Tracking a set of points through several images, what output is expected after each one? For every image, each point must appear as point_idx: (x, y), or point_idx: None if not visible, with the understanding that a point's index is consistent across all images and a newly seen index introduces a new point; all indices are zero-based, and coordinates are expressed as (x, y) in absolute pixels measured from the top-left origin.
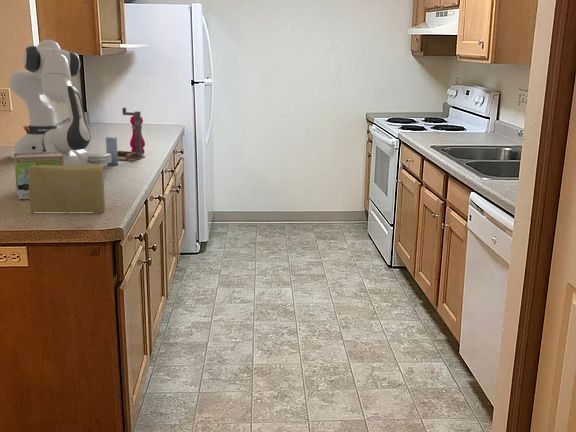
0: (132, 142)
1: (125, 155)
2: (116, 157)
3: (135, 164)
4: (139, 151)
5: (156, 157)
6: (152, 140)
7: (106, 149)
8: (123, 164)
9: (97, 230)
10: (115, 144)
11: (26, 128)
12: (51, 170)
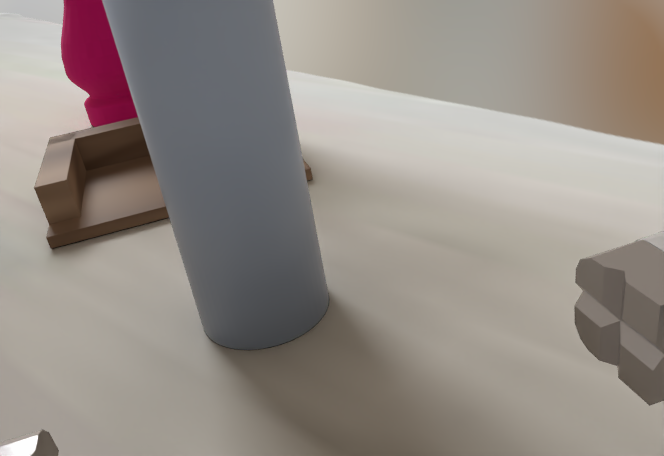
0: (96, 50)
1: (137, 154)
2: (312, 211)
3: (436, 200)
4: None
5: (326, 97)
6: (30, 57)
7: (170, 156)
8: (348, 249)
9: None
10: (279, 39)
11: None
12: None
